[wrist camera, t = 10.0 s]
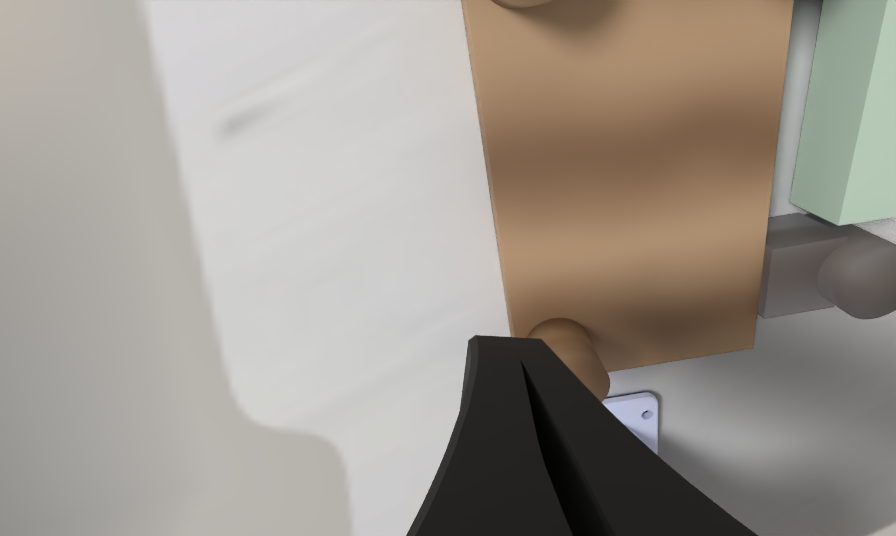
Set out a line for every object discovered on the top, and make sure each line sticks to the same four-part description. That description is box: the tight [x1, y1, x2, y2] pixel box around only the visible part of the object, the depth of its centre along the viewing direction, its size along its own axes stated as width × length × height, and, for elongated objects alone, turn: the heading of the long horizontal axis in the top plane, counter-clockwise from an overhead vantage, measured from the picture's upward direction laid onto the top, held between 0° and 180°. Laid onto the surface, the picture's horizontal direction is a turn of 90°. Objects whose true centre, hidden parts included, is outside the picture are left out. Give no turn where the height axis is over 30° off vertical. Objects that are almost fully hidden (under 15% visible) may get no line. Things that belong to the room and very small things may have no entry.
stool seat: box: [461, 0, 896, 402], centre depth 15 cm, size 16×13×4 cm
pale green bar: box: [790, 0, 896, 226], centre depth 15 cm, size 9×2×2 cm, turn 9°
